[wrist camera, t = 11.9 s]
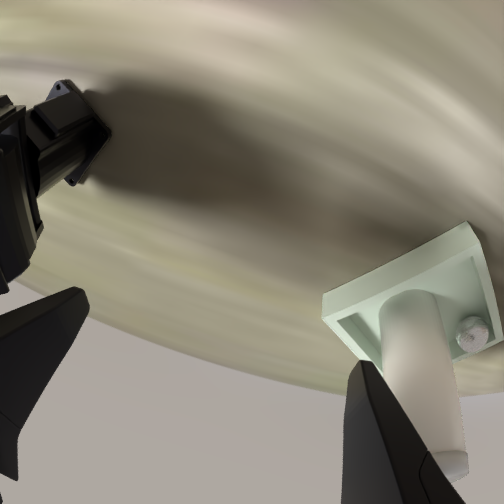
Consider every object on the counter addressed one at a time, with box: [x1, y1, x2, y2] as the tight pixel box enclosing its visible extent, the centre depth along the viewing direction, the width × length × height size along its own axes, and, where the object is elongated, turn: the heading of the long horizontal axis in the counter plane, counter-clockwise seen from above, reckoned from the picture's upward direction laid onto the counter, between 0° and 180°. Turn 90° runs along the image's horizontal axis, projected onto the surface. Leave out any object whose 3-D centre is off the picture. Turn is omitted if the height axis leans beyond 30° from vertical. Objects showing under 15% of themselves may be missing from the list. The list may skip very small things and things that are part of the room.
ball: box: [456, 315, 489, 352], centre depth 22 cm, size 3×3×3 cm
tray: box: [322, 221, 504, 377], centre depth 23 cm, size 13×13×3 cm
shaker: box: [378, 289, 469, 483], centre depth 18 cm, size 5×5×14 cm
